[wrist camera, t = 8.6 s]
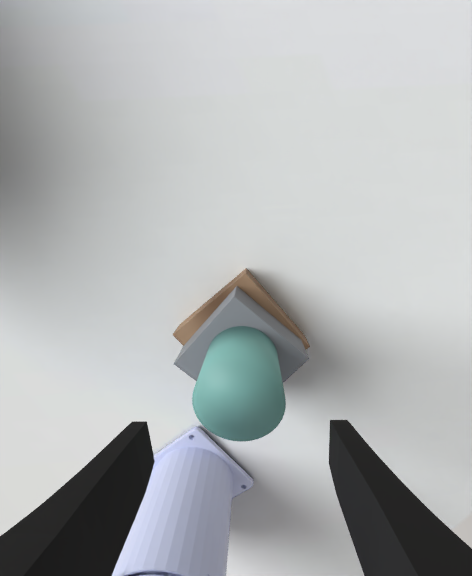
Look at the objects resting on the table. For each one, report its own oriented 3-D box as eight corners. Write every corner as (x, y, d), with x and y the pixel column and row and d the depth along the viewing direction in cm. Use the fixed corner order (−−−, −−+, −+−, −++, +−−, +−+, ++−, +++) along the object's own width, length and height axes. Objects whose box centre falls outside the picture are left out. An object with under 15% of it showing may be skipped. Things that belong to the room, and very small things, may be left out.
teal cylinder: (237, 400, 17) (233, 455, 13) (193, 353, 16) (173, 395, 12) (292, 364, 16) (304, 411, 12) (246, 312, 15) (244, 344, 11)
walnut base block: (237, 379, 22) (236, 399, 20) (181, 321, 21) (172, 334, 18) (303, 331, 20) (309, 346, 18) (246, 266, 19) (245, 273, 17)
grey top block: (245, 393, 19) (244, 418, 17) (183, 345, 19) (173, 363, 16) (301, 340, 18) (309, 358, 16) (236, 285, 17) (234, 296, 15)
